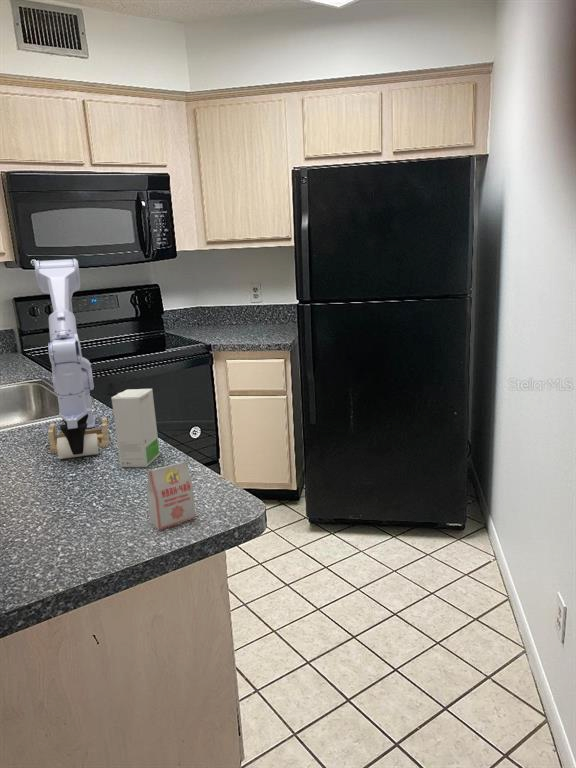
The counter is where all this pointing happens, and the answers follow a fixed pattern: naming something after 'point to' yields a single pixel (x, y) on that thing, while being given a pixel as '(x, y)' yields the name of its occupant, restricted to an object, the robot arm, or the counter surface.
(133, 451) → the skincare box
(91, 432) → the holder
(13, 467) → the counter surface
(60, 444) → the paper roll
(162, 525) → the tea bag
